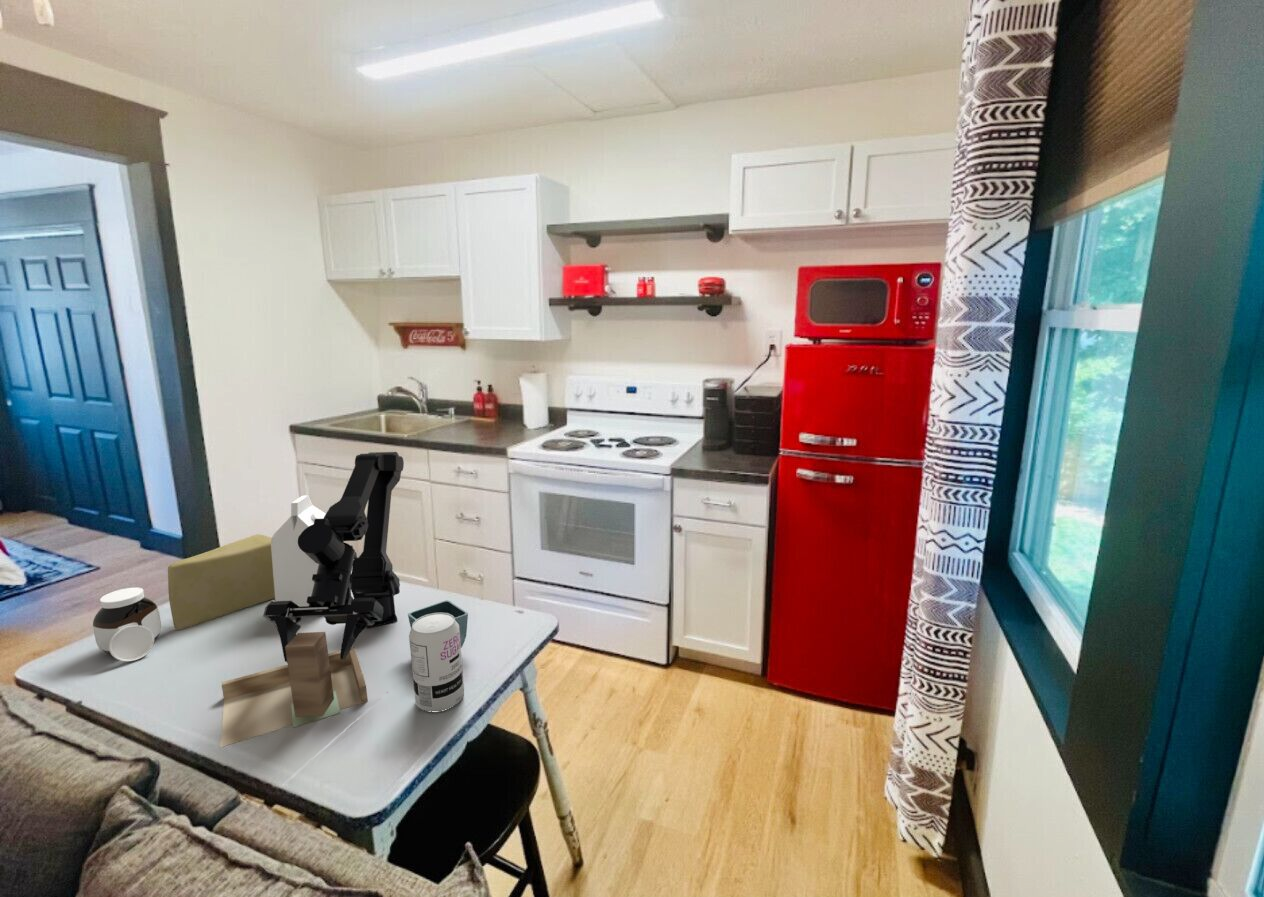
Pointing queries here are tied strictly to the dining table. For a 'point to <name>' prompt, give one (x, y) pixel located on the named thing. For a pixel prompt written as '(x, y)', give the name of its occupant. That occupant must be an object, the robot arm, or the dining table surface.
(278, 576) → the milk
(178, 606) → the cheese
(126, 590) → the spread jar
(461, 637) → the flower pot
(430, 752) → the dining table surface
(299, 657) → the walnut block
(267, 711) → the tray
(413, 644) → the supplement can
